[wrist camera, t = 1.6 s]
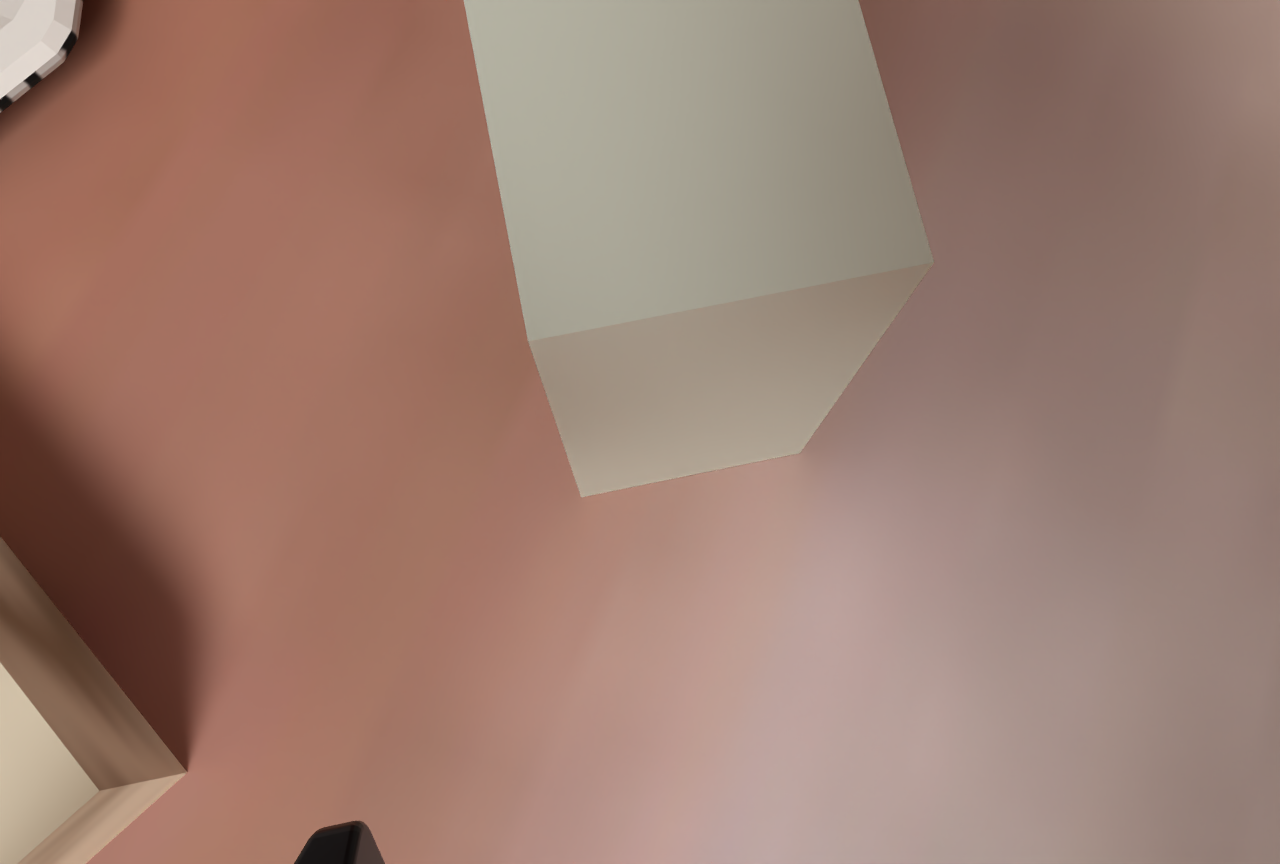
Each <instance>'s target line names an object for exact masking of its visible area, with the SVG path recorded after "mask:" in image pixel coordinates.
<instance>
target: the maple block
mask: <svg viewBox="0 0 1280 864" xmlns="http://www.w3.org/2000/svg"><path fill="white" fill-rule="evenodd" d="M186 773H187V771H186V770H185V769H184V768H183V766H182V765H181V764H180V762H179V761H178V760H177V759H176V757H175V756H174V755H173V754H172V752H171V751H170V750H169V749H168V747H167V746H166V745H165V744H164V742H163V741H162V740H161V739H160V737H159V736H158V735H157V733H156V732H155V731H154V730H153V728H152V727H151V726H150V725H149V723H148V722H147V721H146V720H145V718H144V717H143V716H142V715H141V713H140V712H139V711H138V709H137V708H136V707H135V706H134V704H133V703H132V702H131V701H130V699H129V698H128V697H127V696H126V694H125V693H124V692H123V691H122V689H121V688H120V687H119V686H118V684H117V683H116V682H115V680H114V679H113V678H112V677H111V675H110V674H109V673H108V672H107V670H106V669H105V668H104V667H103V665H102V664H101V663H100V662H99V660H98V659H97V658H96V656H95V655H94V654H93V653H92V651H91V650H90V649H89V648H88V646H87V645H86V644H85V643H84V641H83V640H82V639H81V638H80V636H79V635H78V634H77V632H76V631H75V630H74V629H73V627H72V626H71V625H70V624H69V622H68V621H67V620H66V619H65V617H64V616H63V615H62V614H61V612H60V611H59V610H58V609H57V607H56V606H55V605H54V603H53V602H52V601H51V600H50V598H49V597H48V596H47V595H46V593H45V592H44V591H43V590H42V588H41V587H40V586H39V585H38V583H37V582H36V581H35V579H34V578H33V577H32V576H31V574H30V573H29V572H28V571H27V569H26V568H25V567H24V566H23V564H22V563H21V562H20V561H19V559H18V558H17V557H16V555H15V554H14V553H13V552H12V550H11V549H10V548H9V547H8V545H7V544H6V543H5V542H4V540H3V539H2V538H1V537H0V864H86V863H87V862H88V861H89V860H90V859H91V858H92V857H93V856H95V855H96V854H97V853H98V852H99V851H100V850H101V849H102V848H104V847H105V846H106V845H107V844H108V843H109V842H110V841H111V840H112V839H114V838H115V837H116V836H117V835H118V834H119V833H120V832H121V831H123V830H124V829H125V828H126V827H127V826H128V825H129V824H130V823H131V822H133V821H134V820H135V819H136V818H137V817H138V816H139V815H140V814H142V813H143V812H144V811H145V810H146V809H147V808H148V807H149V806H150V805H152V804H153V803H154V802H155V801H156V800H157V799H158V798H159V797H161V796H162V795H163V794H164V793H165V792H166V791H167V790H168V789H169V788H171V787H172V786H173V785H174V784H175V783H176V782H177V781H178V780H180V779H181V778H182V777H183V776H184V775H185V774H186Z"/></svg>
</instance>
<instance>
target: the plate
mask: <svg viewBox="0 0 1280 864" xmlns="http://www.w3.org/2000/svg"><path fill="white" fill-rule="evenodd" d="M82 6H83V0H0V113H1V112H2V111H3V110H4V109H6V108H7V107H8V106H9V105H11V104H12V103H13V102H14V101H16V100H17V99H18V98H19V97H21V96H22V95H23V94H25V93H26V92H27V91H28V90H30V89H31V88H32V87H33V86H35V85H36V84H37V83H38V82H40V81H41V80H42V79H43V78H45V77H46V76H47V75H48V74H50V73H51V72H52V71H53V70H55V69H56V68H57V67H58V66H60V65H61V64H62V63H63V62H64V61H65V60H66V58H67V56H68V55H69V53H70V51H71V50H72V48H73V46H74V45H75V43H76V41H77V40H78V35H79V28H80V21H81V13H82Z"/></svg>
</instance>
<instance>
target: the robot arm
mask: <svg viewBox="0 0 1280 864" xmlns="http://www.w3.org/2000/svg"><path fill="white" fill-rule="evenodd" d="M294 864H385V863H384V860H383V858H382V856H381V854H380V851H379V849H378V847H377V845H376V842H375V840H374V838H373V836H372V833H371V831H370V829H369V828H368V826H367V825H366V824H365V823H364V822H362V821H352V822H347V823H342V824H338V825H333V826H328V827H324V828H321V829H319V830H317V831H316V832H315V833H314V834H313V835H312V836H311V837H310V838H309V840H308V841H307V843H306V845H305V846H304V848H303V850H302V851H301V853H300V855H299V856H298V858H297V860H296V861H295V863H294Z"/></svg>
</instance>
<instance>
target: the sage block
mask: <svg viewBox="0 0 1280 864" xmlns="http://www.w3.org/2000/svg"><path fill="white" fill-rule="evenodd" d="M464 4H465V9H466V15H467V20H468V25H469V31H470V36H471V41H472V46H473V52H474V57H475V62H476V68H477V73H478V78H479V84H480V89H481V94H482V99H483V105H484V110H485V115H486V121H487V126H488V131H489V137H490V142H491V147H492V153H493V158H494V163H495V168H496V174H497V179H498V184H499V190H500V195H501V200H502V206H503V211H504V216H505V221H506V227H507V232H508V237H509V243H510V248H511V253H512V259H513V264H514V269H515V274H516V280H517V285H518V290H519V296H520V301H521V306H522V312H523V317H524V322H525V327H526V333H527V338H528V343H529V345H530V348H531V351H532V354H533V357H534V360H535V363H536V366H537V369H538V372H539V375H540V378H541V381H542V384H543V386H544V389H545V392H546V395H547V398H548V401H549V404H550V407H551V410H552V413H553V416H554V419H555V422H556V425H557V428H558V430H559V433H560V436H561V439H562V442H563V445H564V448H565V451H566V454H567V457H568V460H569V463H570V466H571V469H572V472H573V474H574V477H575V480H576V483H577V486H578V489H579V492H580V495H581V497H586V496H590V495H595V494H600V493H605V492H610V491H615V490H620V489H625V488H630V487H635V486H640V485H645V484H650V483H655V482H660V481H665V480H670V479H675V478H680V477H685V476H689V475H694V474H699V473H704V472H709V471H714V470H719V469H724V468H729V467H734V466H739V465H744V464H749V463H754V462H759V461H764V460H769V459H774V458H779V457H784V456H788V455H793V454H798V453H800V452H801V451H802V450H803V448H804V447H805V445H806V444H807V442H808V441H809V440H810V438H811V437H812V435H813V434H814V432H815V431H816V430H817V428H818V427H819V425H820V424H821V422H822V421H823V420H824V418H825V417H826V415H827V414H828V413H829V411H830V410H831V408H832V407H833V405H834V404H835V403H836V401H837V400H838V398H839V397H840V395H841V394H842V393H843V391H844V390H845V388H846V387H847V386H848V384H849V383H850V381H851V380H852V378H853V377H854V376H855V374H856V373H857V371H858V370H859V368H860V367H861V366H862V364H863V363H864V361H865V360H866V359H867V357H868V356H869V354H870V353H871V351H872V350H873V349H874V347H875V346H876V344H877V343H878V341H879V340H880V339H881V337H882V336H883V334H884V333H885V331H886V330H887V329H888V327H889V326H890V324H891V323H892V322H893V320H894V319H895V317H896V316H897V314H898V313H899V312H900V310H901V309H902V307H903V306H904V304H905V303H906V302H907V300H908V299H909V297H910V296H911V295H912V293H913V292H914V290H915V289H916V287H917V286H918V285H919V283H920V282H921V280H922V279H923V277H924V276H925V275H926V273H927V272H928V270H929V269H930V268H931V266H932V265H933V263H934V260H933V257H932V253H931V250H930V246H929V243H928V239H927V236H926V232H925V229H924V225H923V222H922V219H921V215H920V212H919V208H918V205H917V201H916V198H915V194H914V191H913V187H912V184H911V180H910V177H909V174H908V170H907V167H906V163H905V160H904V156H903V153H902V149H901V146H900V142H899V139H898V135H897V132H896V129H895V125H894V122H893V118H892V115H891V111H890V108H889V104H888V101H887V97H886V94H885V90H884V87H883V84H882V80H881V77H880V73H879V70H878V66H877V63H876V59H875V56H874V52H873V49H872V45H871V42H870V39H869V35H868V32H867V28H866V25H865V21H864V18H863V14H862V11H861V7H860V4H859V0H464Z"/></svg>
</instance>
